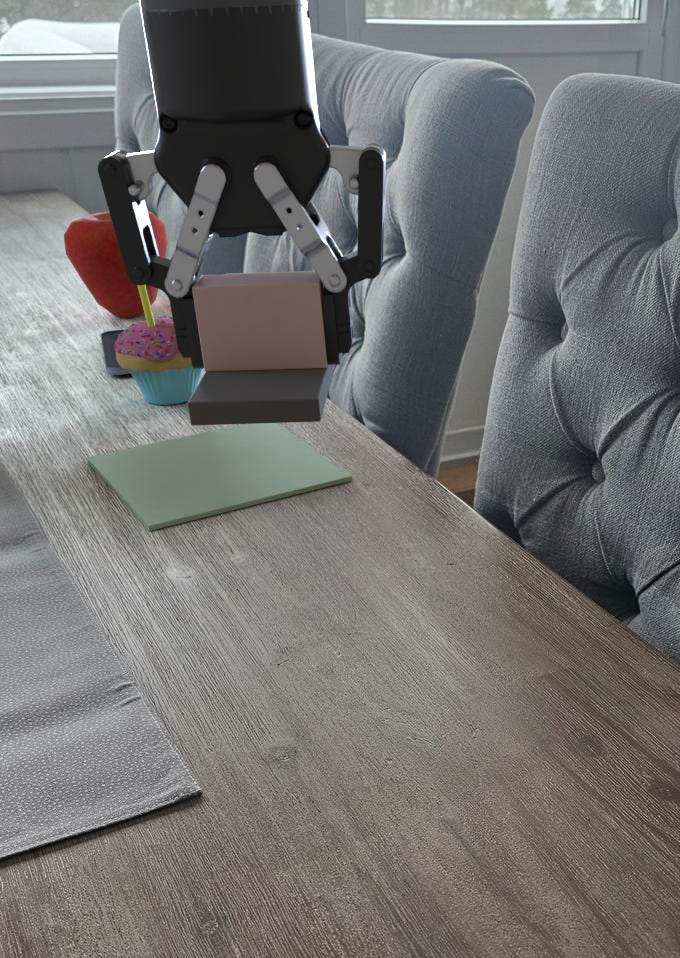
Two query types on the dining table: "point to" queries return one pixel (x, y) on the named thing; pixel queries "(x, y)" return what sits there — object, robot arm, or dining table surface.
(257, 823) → the dining table surface
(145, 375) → the cupcake
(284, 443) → the mat
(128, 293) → the apple
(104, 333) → the smartphone
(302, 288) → the blocks on dark base
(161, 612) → the dining table surface
